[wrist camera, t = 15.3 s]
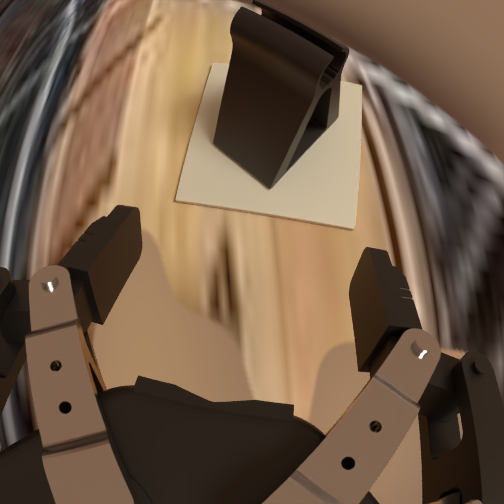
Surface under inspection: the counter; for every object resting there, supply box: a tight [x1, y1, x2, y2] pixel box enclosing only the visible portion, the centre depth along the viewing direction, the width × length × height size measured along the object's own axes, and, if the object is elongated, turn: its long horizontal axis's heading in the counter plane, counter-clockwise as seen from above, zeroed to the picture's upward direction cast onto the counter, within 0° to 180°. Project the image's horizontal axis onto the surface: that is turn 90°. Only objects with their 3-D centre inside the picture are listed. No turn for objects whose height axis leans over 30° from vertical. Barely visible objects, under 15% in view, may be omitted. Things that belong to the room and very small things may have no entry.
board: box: [175, 63, 362, 231], centre depth 26 cm, size 14×14×1 cm
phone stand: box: [213, 0, 349, 189], centre depth 20 cm, size 9×6×12 cm, turn 138°
